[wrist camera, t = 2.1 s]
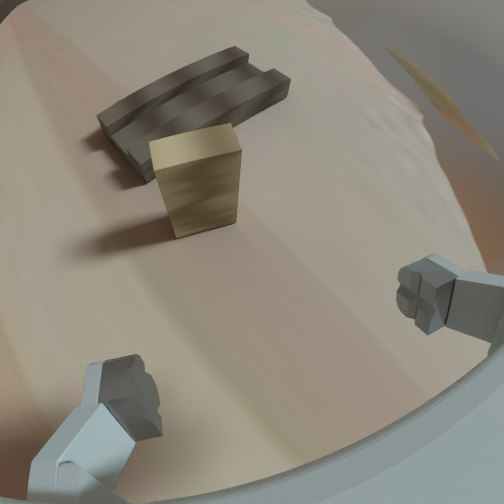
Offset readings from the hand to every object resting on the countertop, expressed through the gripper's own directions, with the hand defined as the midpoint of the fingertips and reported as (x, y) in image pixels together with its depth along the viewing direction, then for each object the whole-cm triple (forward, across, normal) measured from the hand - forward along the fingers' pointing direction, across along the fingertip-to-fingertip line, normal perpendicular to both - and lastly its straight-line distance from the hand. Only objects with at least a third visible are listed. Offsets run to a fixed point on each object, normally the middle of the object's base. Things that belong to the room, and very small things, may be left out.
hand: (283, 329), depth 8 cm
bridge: (+30, -2, -7) cm, 31 cm away
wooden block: (+20, 0, +3) cm, 20 cm away
